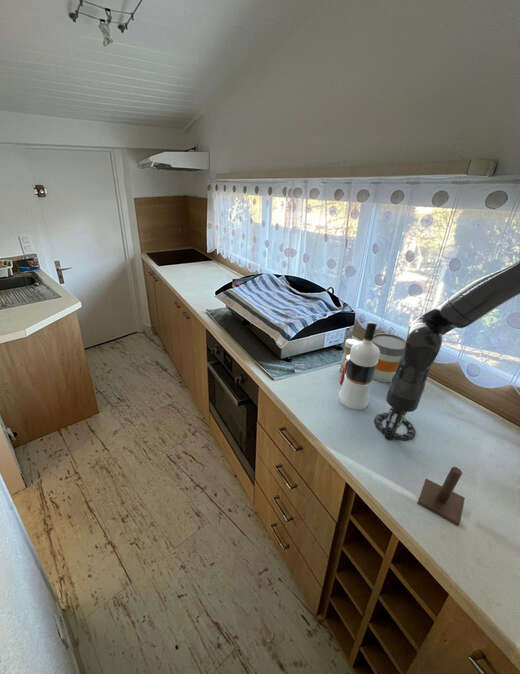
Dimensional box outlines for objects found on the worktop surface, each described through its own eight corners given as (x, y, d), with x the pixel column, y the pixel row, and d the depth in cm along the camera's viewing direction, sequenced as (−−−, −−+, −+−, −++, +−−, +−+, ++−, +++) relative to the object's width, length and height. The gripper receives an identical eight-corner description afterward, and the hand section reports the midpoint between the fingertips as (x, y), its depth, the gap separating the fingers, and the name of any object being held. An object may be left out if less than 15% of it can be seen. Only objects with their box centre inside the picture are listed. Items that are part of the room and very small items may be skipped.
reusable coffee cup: (376, 386, 111) (386, 351, 104) (355, 367, 122) (363, 334, 115) (406, 382, 113) (417, 347, 106) (383, 364, 124) (392, 331, 117)
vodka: (339, 409, 101) (358, 328, 86) (336, 392, 109) (352, 315, 94) (369, 413, 99) (393, 331, 85) (364, 395, 107) (385, 317, 93)
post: (463, 500, 72) (481, 469, 67) (458, 526, 67) (477, 494, 62) (424, 480, 77) (438, 450, 72) (417, 503, 72) (432, 472, 67)
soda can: (346, 391, 109) (353, 363, 103) (336, 383, 113) (342, 355, 107) (357, 387, 111) (364, 359, 105) (347, 379, 115) (353, 352, 109)
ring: (418, 427, 93) (420, 422, 92) (409, 449, 86) (411, 444, 85) (380, 411, 100) (381, 406, 99) (368, 430, 92) (370, 425, 91)
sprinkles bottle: (344, 366, 123) (351, 337, 117) (354, 371, 120) (361, 342, 113) (337, 370, 121) (343, 340, 115) (346, 375, 117) (353, 345, 111)
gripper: (415, 409, 75) (396, 458, 83) (427, 383, 84) (409, 429, 92) (382, 396, 79) (368, 444, 87) (397, 373, 88) (383, 418, 97)
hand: (389, 436), depth 90 cm, fingers closed on ring, 2 cm apart
